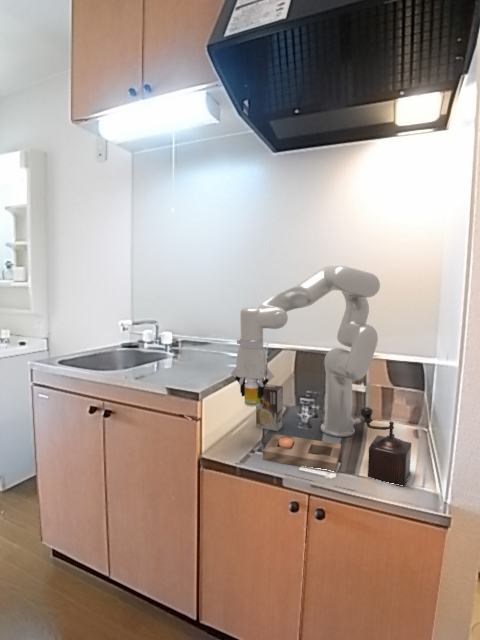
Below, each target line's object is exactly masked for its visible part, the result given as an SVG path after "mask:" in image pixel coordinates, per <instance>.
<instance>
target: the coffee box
mask: <svg viewBox="0 0 480 640" xmlns="http://www.w3.org/2000/svg"><path fill="white" fill-rule="evenodd" d="M283 393H284V392H283V385H282V386H281V385H274V384H268V383H266V384H265V385H264V395H263V397H262V398H260V405H259V406H255V408H256V409H255V411H256V412H255V414H256V415H255V417H256V418H255V419H256V420H255V427H256V428H258V429H262V430H263V429H264V430H269V431H274V432H278V431H279V430H280V429H281V428H282V427H283V399H284V398H283Z"/></svg>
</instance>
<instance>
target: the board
mask: <svg viewBox="0 0 480 640" xmlns="http://www.w3.org/2000/svg"><path fill="white" fill-rule="evenodd" d="M280 438H290V439H292V440H293V444H292V449H288V448H282V447H279V439H280ZM341 454H342V444H341V443H335V442H330V441H322V440H315V439H309V438H303V437H296V436H291V435H285V434H284V435H283V434H276V433H274V434H273V435H272V437H271V438H270V440H269V441H268V443H267V444H266V445H265V447H264V449H263V450H262V460H263V461H268V462H273V463H278V464H283V465H291V466H296V467H301V466H304V467H303V468H306V467H313V468H321V469H327V470H331V471H334V472H336V473H337V471H336V470H338V467H337V466H339V461H340V457H341ZM305 466H306V467H305ZM334 472H333V473H334Z"/></svg>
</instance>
